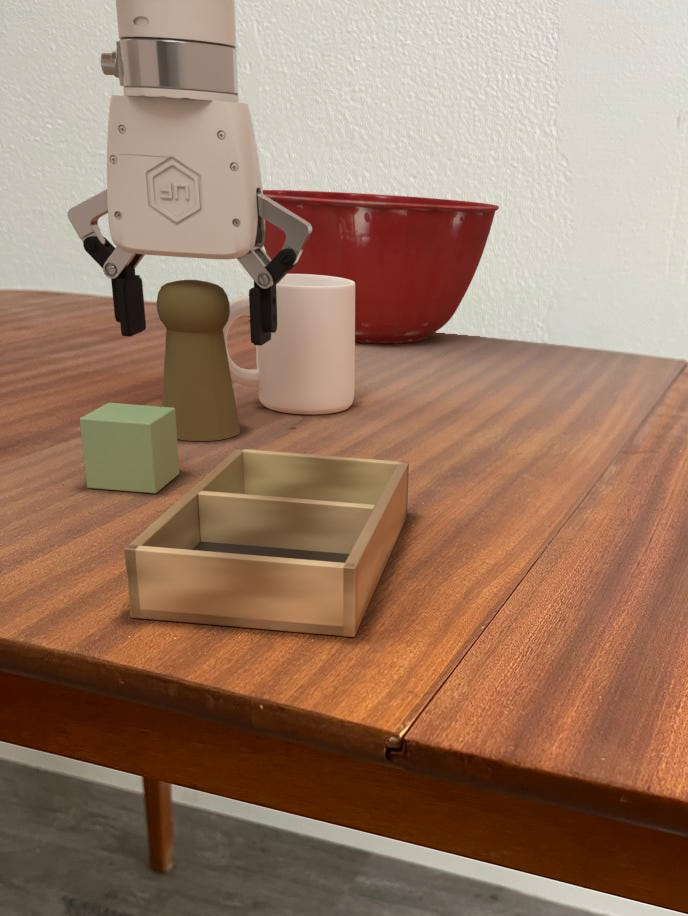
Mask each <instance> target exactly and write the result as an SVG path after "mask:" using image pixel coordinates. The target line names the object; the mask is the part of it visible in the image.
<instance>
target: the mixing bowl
mask: <svg viewBox="0 0 688 916" xmlns="http://www.w3.org/2000/svg"><path fill="white" fill-rule="evenodd" d="M262 190H263V194H264V195H265V196H267V197H268V198H270V199H272V200H273V201H275V202H276V203H278V204H280V205H281V206H283V207H285V208H286V209H288V210H289V211H291V212H293V213H294V214H296V215H297V216H299V217H301V218H302V219H304V220H305V221H307V222H309V223H310V224H311V226H312V233H311V235H310V237H309V239H308V241H307V244H306V246H305V248H304V250H303V251H302V253H301V255H300V259H299V261H298V263H297V264H296V265H295V266H294V267H293V268H292V269H291V270H290V271H289V272H288V273H287V274H311V275H324V276H333V277H340V278H345V279H349V280H352V281H354V282H355V343H370V344H371V343H373V344H400V343H414V342H421V341H424V340H426V339H428V338H429V336H430V335H432V334H433V333H436V332H437V331H439V330H440V329H441V330H442V328H443V327H444V326H446V324H448V323H449V321H450V320H451V319H452V318H453V316H454V315H455V314H456V311H457V310H458V308H459V306H460V305H461V303H462V301H463V300H464V297H465V295H466V293H467V291H468V289H469V287H470V285H471V283H472V281H473V278H474V276H475V274H476V272H477V270H478V267H479V264H480V263H481V260H482V256H483V254H484V251H485V248H486V245H487V242H488V239H489V235H490V232H491V228H492V225H493V222H494V218H495V214H496V212H497V211H498V210H499V208H500V206H499V205H497V204H492V203H486V202H485V203H484V202H476V201H469V200H456V199H447V198H434V197H421V196H408V195H392V194H379V193H378V194H377V193H360V192H359V193H358V192H339V191H322V190H321V191H320V190H319V191H318V190H293V189H262ZM285 240H286V234H285V232H284V231H283V230H282V229H280V228H278V227H277V226H275V225H273V224H272V223H270V222H269V221H267V220H265V242H264V246H263V249H264V251H265V252H266V254H267V255H268V256H269V258H270V259H271V260H272V259H273V258H274V257H275V256H276V255H277V254H278V253H279V252H280V251H281V250H282V247H283V245H284V242H285Z"/></svg>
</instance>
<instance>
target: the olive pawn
mask: <svg viewBox="0 0 688 916" xmlns="http://www.w3.org/2000/svg"><path fill="white" fill-rule="evenodd" d="M229 302H230V301H229V297H228V294H227V292H226V291H225V289H224V287H222V286H220V285H219V284H216V283H213V282H209V281H205V280H199V279H180V280H175V281H170V282H167V283H164V284H162V285H161V287H160V288H159V290H158V293H157V297H156V311H157V315H158V319H159V320H160V321H161V323H162V324H163V326H164V327H165V328H166V329H165V344H164V345H165V346H164V347H165V348H164V365H163V380H162V394H161V396H162V397H161V407H171V408H175V415H176V430H177V440H180V441H189V442H210V441H211V442H212V441H221V440H225V439H231V438H233V437H236V436H238V435H239V434H240V433H241V428H240V427H241V426H240V422H239V416H238V415H239V414H238V410H237V404H236V398H235V392H234V385H233V381H232V380H231V374H230V368H229V363H228V357H227V351H226V345H225V339H224V334H223V328H224V327H225V325H226V323H227V322H228V319H229V314H230V304H229Z"/></svg>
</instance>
